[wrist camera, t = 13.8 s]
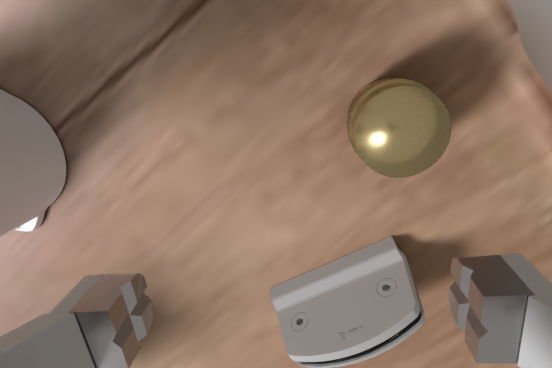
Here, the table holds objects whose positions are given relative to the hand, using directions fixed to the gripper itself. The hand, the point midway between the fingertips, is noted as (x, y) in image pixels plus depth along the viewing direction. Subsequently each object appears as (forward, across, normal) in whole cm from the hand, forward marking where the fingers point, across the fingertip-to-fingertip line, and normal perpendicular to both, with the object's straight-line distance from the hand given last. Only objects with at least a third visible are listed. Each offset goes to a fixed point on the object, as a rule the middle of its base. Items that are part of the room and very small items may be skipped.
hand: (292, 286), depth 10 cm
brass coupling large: (+29, +8, -2) cm, 30 cm away
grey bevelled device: (+30, +3, -22) cm, 37 cm away
